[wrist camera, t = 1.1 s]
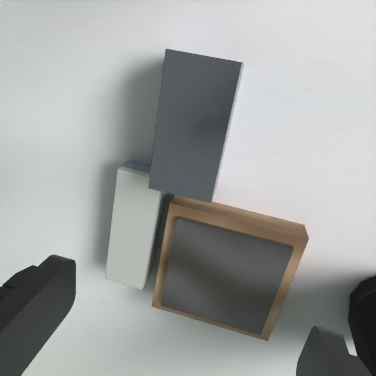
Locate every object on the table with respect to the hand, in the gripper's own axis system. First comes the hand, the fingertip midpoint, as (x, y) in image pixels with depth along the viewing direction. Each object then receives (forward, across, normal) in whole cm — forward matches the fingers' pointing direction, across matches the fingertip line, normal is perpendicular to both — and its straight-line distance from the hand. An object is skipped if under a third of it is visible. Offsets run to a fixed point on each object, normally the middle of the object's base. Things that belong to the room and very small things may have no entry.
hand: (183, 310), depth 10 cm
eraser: (+18, +7, +8) cm, 21 cm away
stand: (+18, -2, +10) cm, 21 cm away
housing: (+18, +3, -3) cm, 19 cm away
